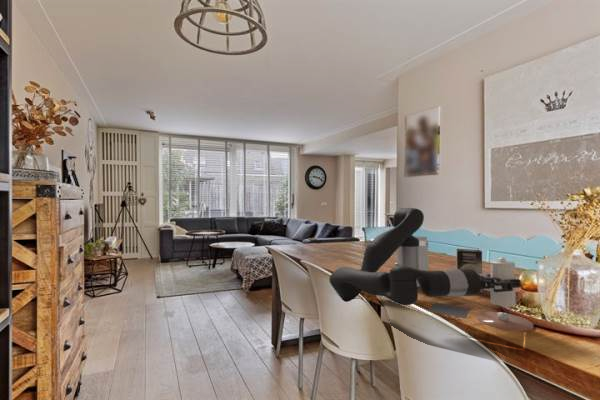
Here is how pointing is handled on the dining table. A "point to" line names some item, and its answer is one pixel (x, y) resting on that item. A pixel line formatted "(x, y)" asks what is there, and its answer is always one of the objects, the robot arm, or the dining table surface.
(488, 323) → the tea light plate
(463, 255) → the coffee box
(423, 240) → the milk carton
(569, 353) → the dining table surface
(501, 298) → the cover
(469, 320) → the dining table surface
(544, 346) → the dining table surface
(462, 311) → the cover mat
